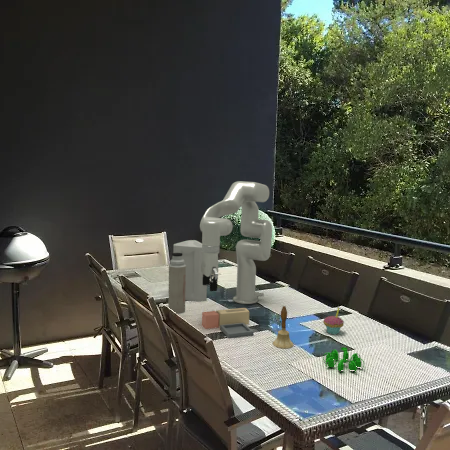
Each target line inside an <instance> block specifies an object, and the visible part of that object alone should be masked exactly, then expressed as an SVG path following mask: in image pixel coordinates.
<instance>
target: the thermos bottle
mask: <svg viewBox="0 0 450 450" xmlns="http://www.w3.org/2000/svg"><path fill="white" fill-rule="evenodd" d="M182 255H183V254H182V253H173V252H172V253H171V256H172V257H171V259H170V260H169V263H170V264H168V302H167V303H168V306H167V307H169V308H170V309H172V310H173V311H174V312H176V313H178V314H183V313H185V312H186V300H185V287H186V265H185V264H184V263H185V262H184V260H183V256H182ZM176 313H175V314H176Z"/></svg>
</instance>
